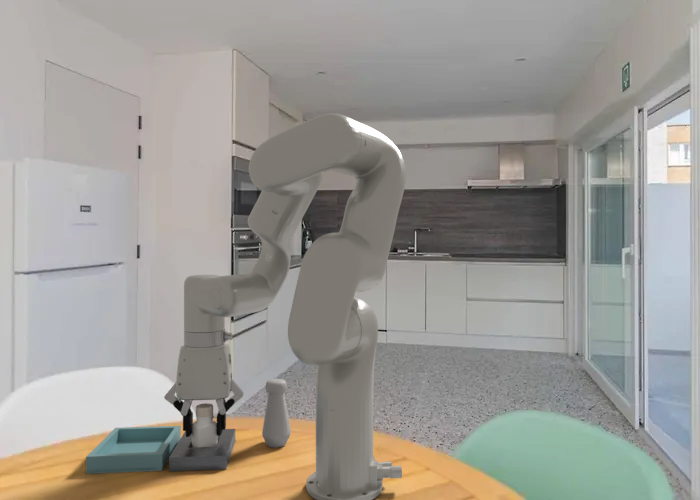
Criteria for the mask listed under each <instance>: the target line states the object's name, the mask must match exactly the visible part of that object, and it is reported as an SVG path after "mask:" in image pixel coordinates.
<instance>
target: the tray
mask: <svg viewBox="0 0 700 500" xmlns="http://www.w3.org/2000/svg"><path fill="white" fill-rule="evenodd" d="M181 430H182V426H181V425H161V426H158V425H157V426H134V427H133V426H130V427H128V426H127V427H125V426H124V427H115V428H113V430H112V431H110V432H109V433H108V434H107V436H105V438H104V439H102V440H101V441H100V442H99V444H98V445H96V446H95V448H93V449H92V450H91V451H90V452H89V453H88V455H86V457H85V460H86V461H85V466H86V467H85V468H86V469H85V471H86V473H85V474H87V475H88V474H89V475H90V474H111V473H112V474H113V473H135V472H136V473H137V472H138V473H141V472H161V471H163V470H164V468H165V467H166V465H167V464H168V463H169V457H170V455H171V454H172V452H173V450H174V449H175V447H176V445H177V444H178V442H179V440H180V439H181V437H182V434H181V433H182V431H181Z"/></svg>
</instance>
